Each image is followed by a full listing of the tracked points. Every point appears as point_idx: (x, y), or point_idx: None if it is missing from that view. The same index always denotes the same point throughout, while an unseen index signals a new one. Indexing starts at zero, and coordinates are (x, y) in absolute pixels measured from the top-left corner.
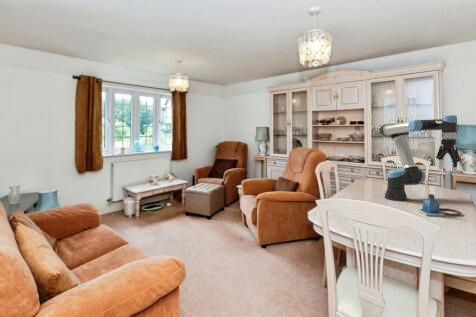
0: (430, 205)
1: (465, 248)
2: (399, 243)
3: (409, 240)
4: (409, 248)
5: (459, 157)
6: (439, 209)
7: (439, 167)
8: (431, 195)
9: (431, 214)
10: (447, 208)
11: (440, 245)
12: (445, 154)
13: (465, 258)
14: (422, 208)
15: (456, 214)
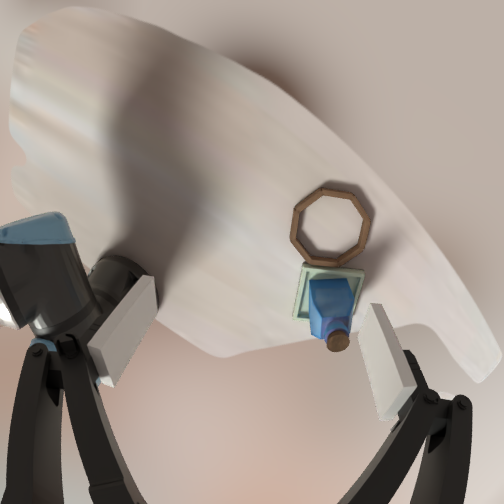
0: (350, 329)
1: (490, 345)
2: None
3: None
4: None
5: (471, 436)
6: (300, 245)
7: (150, 316)
8: (346, 347)
9: (353, 310)
10: (297, 209)
11: (469, 371)
12: (110, 442)
13: (499, 360)
14: (309, 318)
15: (368, 228)
